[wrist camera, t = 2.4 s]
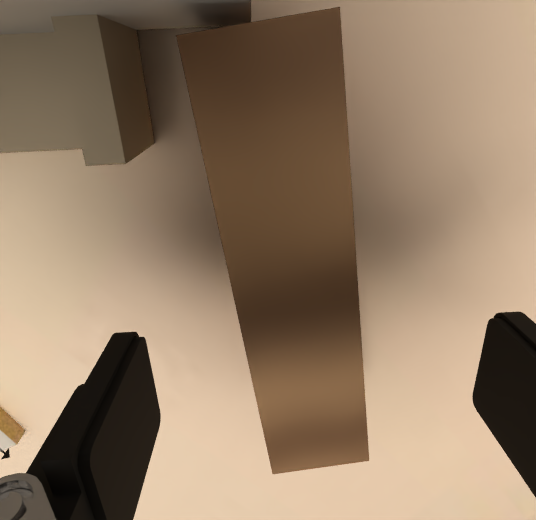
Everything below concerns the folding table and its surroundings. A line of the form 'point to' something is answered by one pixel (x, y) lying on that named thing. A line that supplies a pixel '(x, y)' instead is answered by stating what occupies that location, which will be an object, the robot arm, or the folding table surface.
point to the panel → (87, 71)
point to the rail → (286, 224)
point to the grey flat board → (8, 432)
